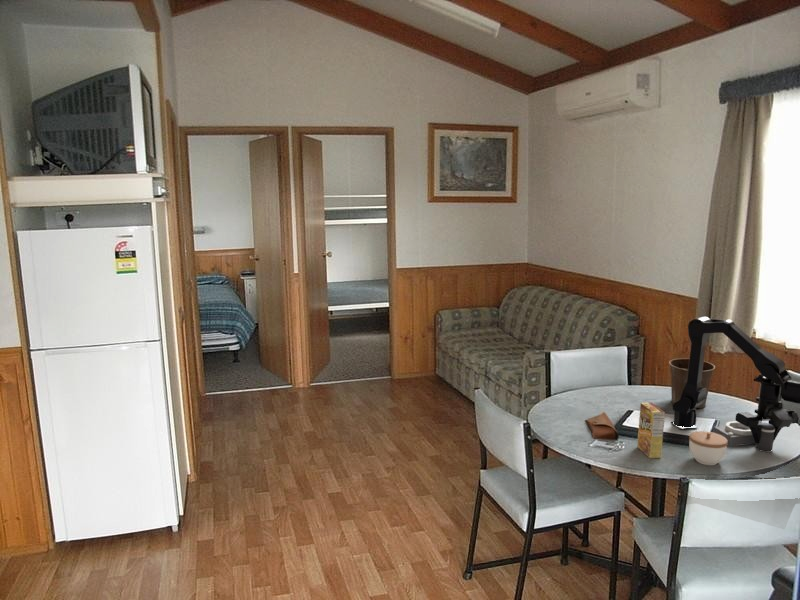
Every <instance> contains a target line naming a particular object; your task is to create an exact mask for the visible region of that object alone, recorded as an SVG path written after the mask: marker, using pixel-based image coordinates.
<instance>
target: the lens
mask: <svg viewBox="0 0 800 600" xmlns="http://www.w3.org/2000/svg"><path fill="white" fill-rule="evenodd" d="M761 425H762V426H764V428H763V429H762V430H761V435H760V441H759V444H757V443H756V444H755V449H756V450H758V451H760V450H761V451H760V452H764V451H771V450H772V451H773V448H774V447H773V446H774V442H773V439H774V431H775V426H774V425H772V424H769V422H762V424H761ZM772 451H771V452H772Z"/></svg>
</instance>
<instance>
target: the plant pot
mask: <svg viewBox="0 0 800 600" xmlns="http://www.w3.org/2000/svg"><path fill="white" fill-rule="evenodd" d="M668 364H669V367H670V368H669V371H670V378H671V379H670V380H671V381H670V382H671V389H670V390H671V403H672V405H673V404H674V403H676V402H677V401H679V400H680V396H681V393H682V390H683V388H684V386H685V384H686V382H687V375H688V367H689V358H685V357H683V358H673V359H671V360H669V361H668ZM715 369H716V366H715V365H714V364H713V363H711V362H708V361H705V360H704V364H703V372H702V380H701V384H702V386H703V388H707V391H706V399H705V400H704V402H703V403H702V404H700V405H698V407H697V408H696V409H704V408H705V407H706V405H707V401H708V400H707V399H708V396H709V395H708V393H709V389H710V386H711V385H710V384H711V380H712V378H713V374H714V371H715Z"/></svg>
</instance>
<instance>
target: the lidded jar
mask: <svg viewBox="0 0 800 600" xmlns="http://www.w3.org/2000/svg"><path fill="white" fill-rule="evenodd" d="M688 441H689V442H688V443H689V447H688V448H689V452H690V453H691V456H692V458H694V459H695V461H696V462H697V463H699V464H702V465H706V466H715V465H717V464H718V463H719V462H721V461H723V459H724V458H725V455H726V453H727V448H728V447H727V446H728V445H729V444H728V440H727V439H726V438H725V437H724V436H722V435H719V434H716V433H713V431H706V430H703V431H702V430H698V431H697V430H696V431H693V432H691V433H690V434H689V440H688Z"/></svg>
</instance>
